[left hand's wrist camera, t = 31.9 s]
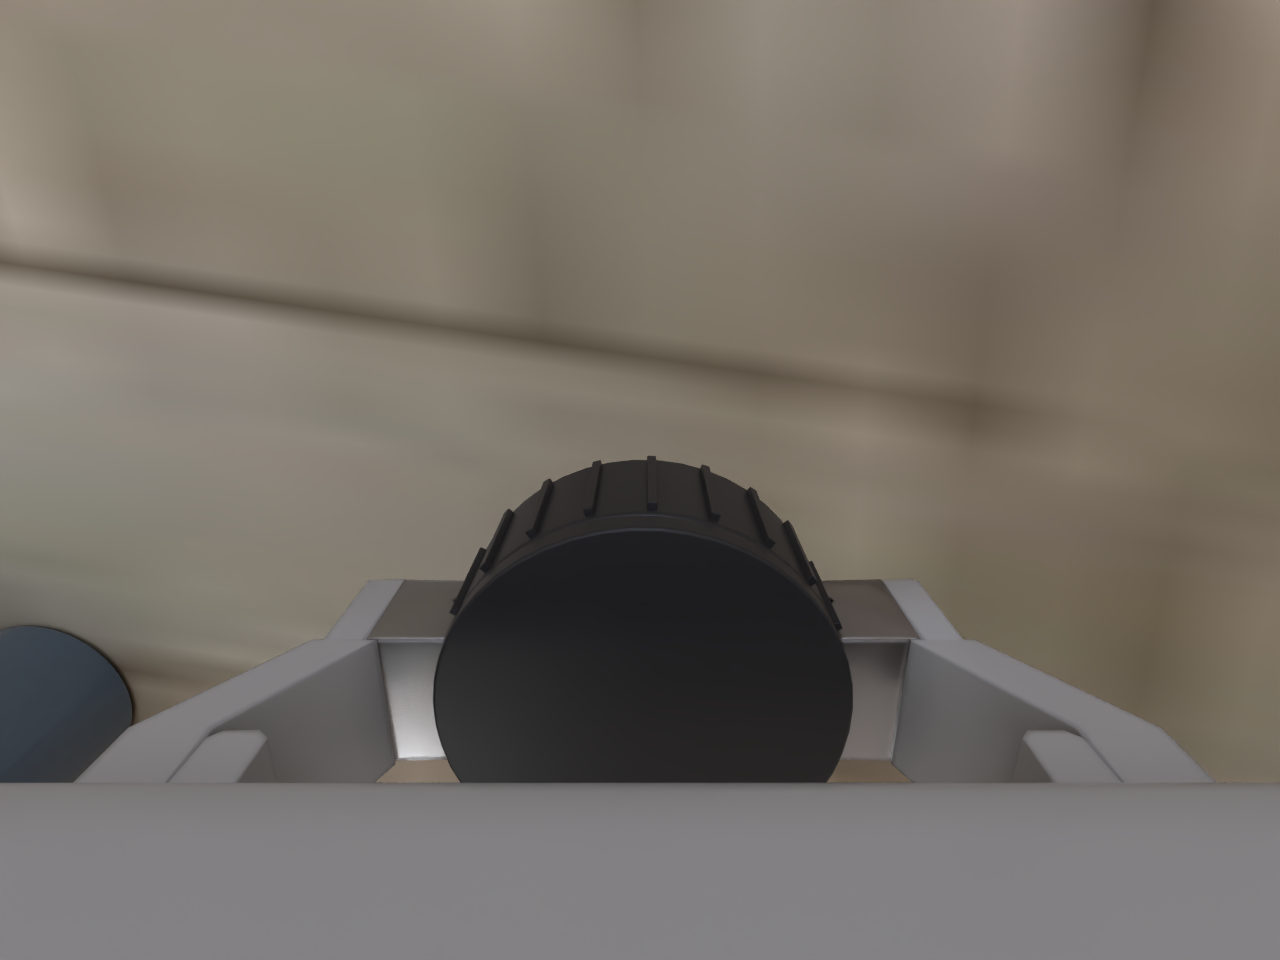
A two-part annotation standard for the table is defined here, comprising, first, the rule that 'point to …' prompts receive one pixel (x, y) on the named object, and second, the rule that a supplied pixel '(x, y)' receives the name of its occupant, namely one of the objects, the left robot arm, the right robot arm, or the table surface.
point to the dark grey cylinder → (55, 705)
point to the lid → (643, 640)
